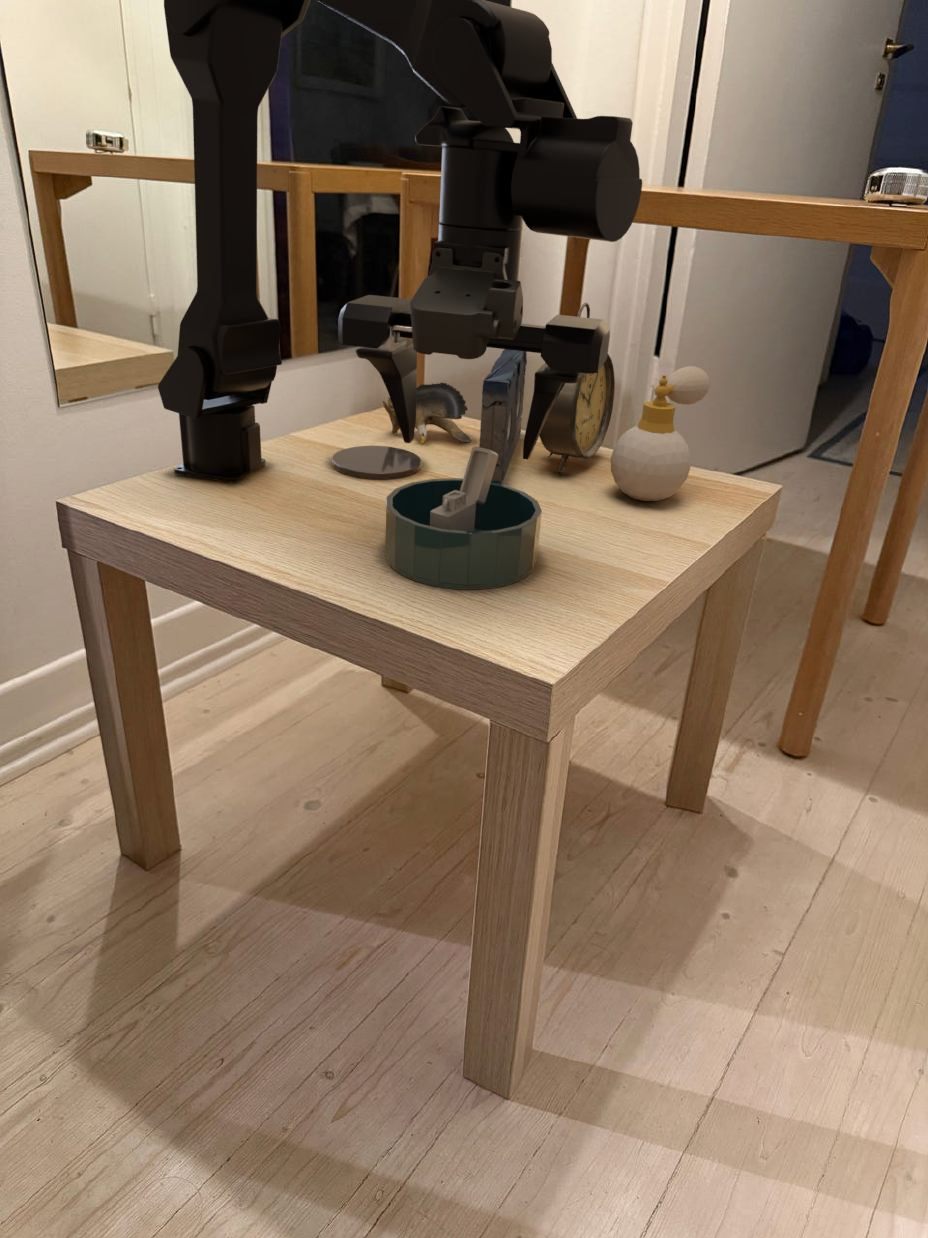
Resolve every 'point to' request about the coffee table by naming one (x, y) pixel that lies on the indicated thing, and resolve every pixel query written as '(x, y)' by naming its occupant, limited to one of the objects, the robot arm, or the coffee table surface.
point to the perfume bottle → (658, 441)
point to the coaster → (376, 462)
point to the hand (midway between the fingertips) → (466, 449)
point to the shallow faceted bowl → (462, 537)
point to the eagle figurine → (435, 410)
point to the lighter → (466, 493)
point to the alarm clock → (580, 414)
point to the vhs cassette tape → (503, 408)
